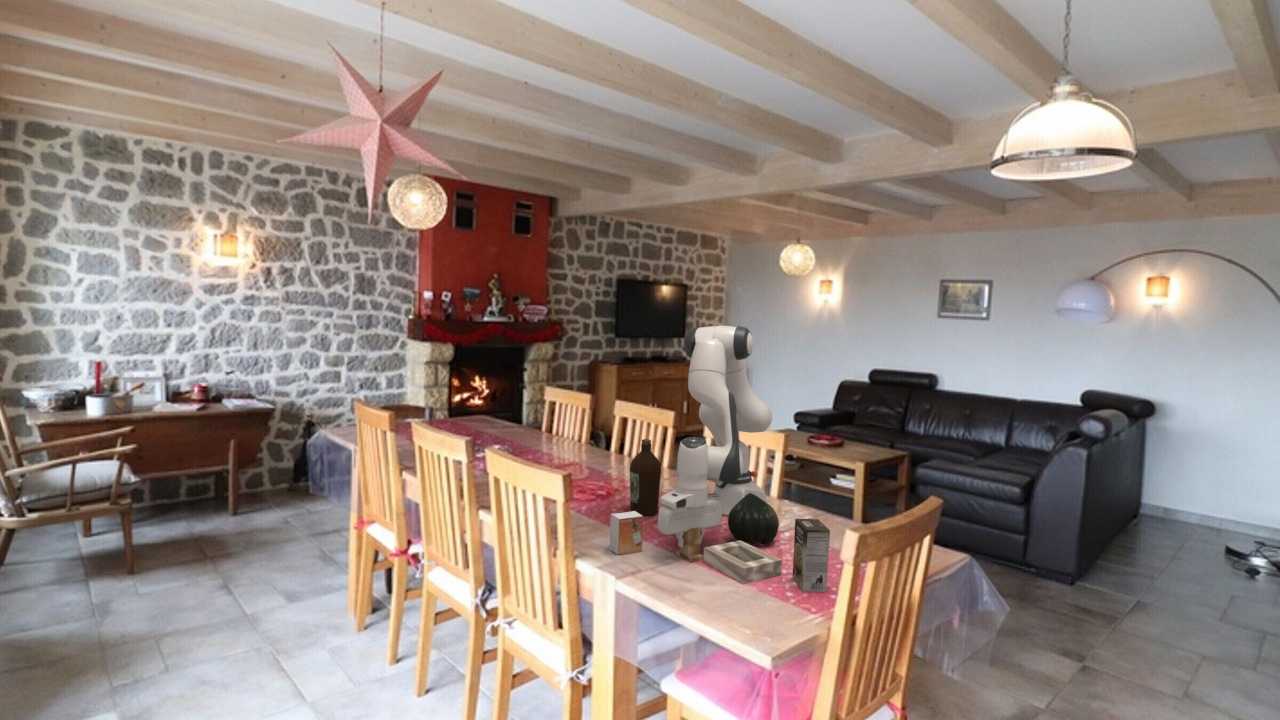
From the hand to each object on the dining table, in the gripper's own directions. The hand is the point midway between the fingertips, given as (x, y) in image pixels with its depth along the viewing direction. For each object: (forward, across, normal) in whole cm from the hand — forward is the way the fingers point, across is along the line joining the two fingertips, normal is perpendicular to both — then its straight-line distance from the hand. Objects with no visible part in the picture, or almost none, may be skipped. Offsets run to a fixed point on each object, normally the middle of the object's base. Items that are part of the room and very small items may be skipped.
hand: (689, 544), depth 194 cm
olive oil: (+4, -11, -41) cm, 43 cm away
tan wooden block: (+4, 0, 0) cm, 4 cm away
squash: (+4, -25, -2) cm, 25 cm away
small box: (+4, +13, -13) cm, 19 cm away
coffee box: (+4, -16, +30) cm, 34 cm away
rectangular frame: (+4, -8, +13) cm, 16 cm away
